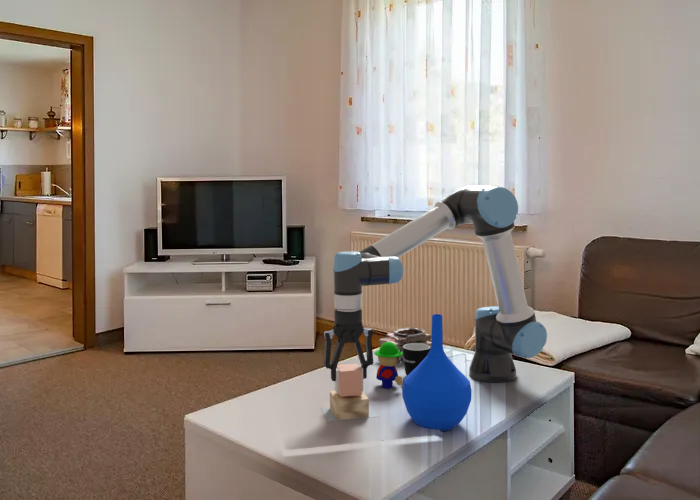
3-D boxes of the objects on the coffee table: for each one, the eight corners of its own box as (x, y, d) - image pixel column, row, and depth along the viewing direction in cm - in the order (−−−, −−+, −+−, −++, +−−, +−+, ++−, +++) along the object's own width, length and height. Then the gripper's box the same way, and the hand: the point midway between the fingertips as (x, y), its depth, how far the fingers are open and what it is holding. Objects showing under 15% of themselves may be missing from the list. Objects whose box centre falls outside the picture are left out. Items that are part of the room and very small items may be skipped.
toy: (402, 396, 196) (401, 347, 194) (371, 394, 197) (371, 346, 196) (406, 384, 206) (406, 338, 204) (377, 383, 208) (376, 337, 206)
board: (369, 408, 186) (369, 403, 186) (378, 420, 176) (378, 416, 176) (321, 412, 183) (321, 408, 183) (327, 425, 173) (327, 421, 173)
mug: (397, 375, 216) (397, 345, 214) (417, 370, 221) (417, 341, 220) (421, 384, 206) (421, 353, 205) (442, 379, 211) (442, 349, 210)
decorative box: (440, 358, 235) (441, 332, 234) (394, 367, 225) (394, 340, 224) (419, 350, 246) (419, 325, 245) (374, 358, 236) (374, 332, 235)
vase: (422, 407, 186) (423, 305, 183) (482, 420, 176) (484, 312, 172) (389, 428, 171) (389, 317, 168) (452, 444, 161) (453, 326, 157)
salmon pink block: (357, 387, 182) (356, 363, 182) (362, 394, 177) (361, 369, 176) (336, 389, 181) (335, 365, 180) (340, 396, 175) (340, 371, 175)
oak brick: (361, 405, 185) (360, 388, 184) (368, 416, 176) (368, 398, 176) (330, 408, 183) (329, 390, 182) (336, 419, 174) (336, 401, 174)
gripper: (378, 304, 182) (378, 383, 185) (311, 307, 178) (312, 389, 180) (385, 309, 175) (385, 392, 177) (315, 313, 170) (317, 398, 173)
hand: (349, 390), depth 179 cm, fingers closed on salmon pink block, 6 cm apart
